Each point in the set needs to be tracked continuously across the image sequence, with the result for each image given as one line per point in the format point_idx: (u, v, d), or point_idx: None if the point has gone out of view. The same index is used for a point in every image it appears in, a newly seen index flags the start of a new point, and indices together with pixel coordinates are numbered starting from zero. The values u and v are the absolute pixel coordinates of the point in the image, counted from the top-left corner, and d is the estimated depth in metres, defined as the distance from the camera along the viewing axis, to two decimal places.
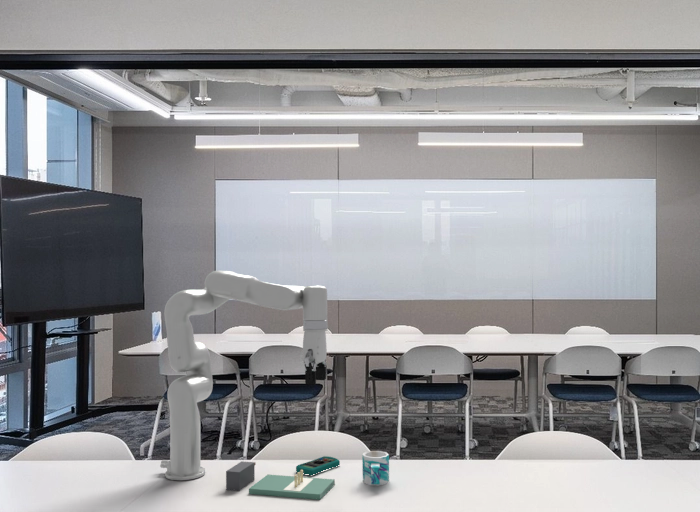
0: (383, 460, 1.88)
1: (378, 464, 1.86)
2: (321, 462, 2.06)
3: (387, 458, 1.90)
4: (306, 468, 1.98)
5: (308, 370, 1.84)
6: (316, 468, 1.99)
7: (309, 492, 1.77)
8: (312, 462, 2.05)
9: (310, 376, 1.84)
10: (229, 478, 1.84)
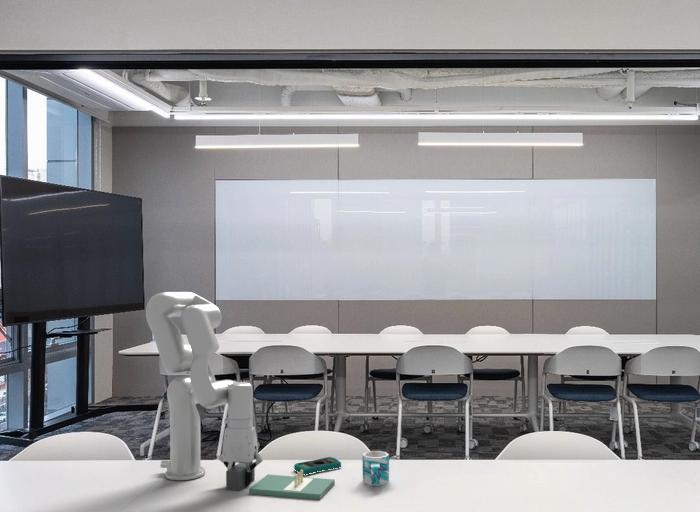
0: (383, 460, 1.88)
1: (378, 464, 1.86)
2: (321, 462, 2.05)
3: (387, 458, 1.90)
4: (301, 467, 1.99)
5: (251, 470, 1.88)
6: (311, 468, 1.99)
7: (309, 492, 1.77)
8: (312, 462, 2.05)
9: (251, 475, 1.89)
10: (229, 478, 1.84)
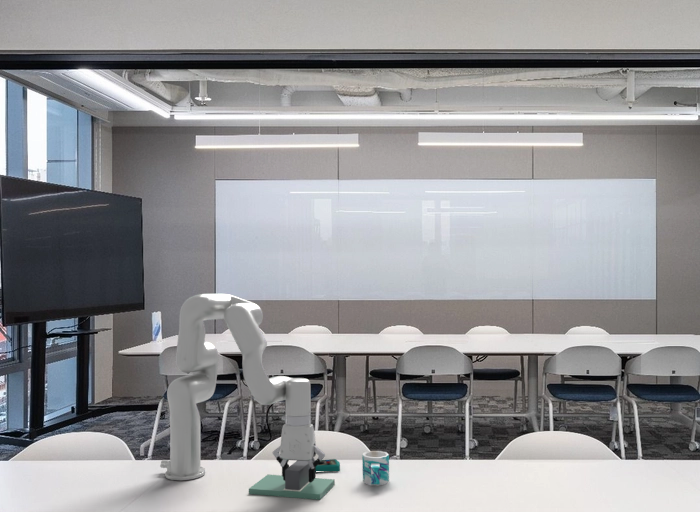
0: (383, 460, 1.88)
1: (378, 464, 1.86)
2: (321, 463, 2.04)
3: (387, 458, 1.90)
4: None
5: (315, 467, 1.83)
6: None
7: (309, 492, 1.77)
8: None
9: (315, 472, 1.83)
10: (288, 477, 1.79)
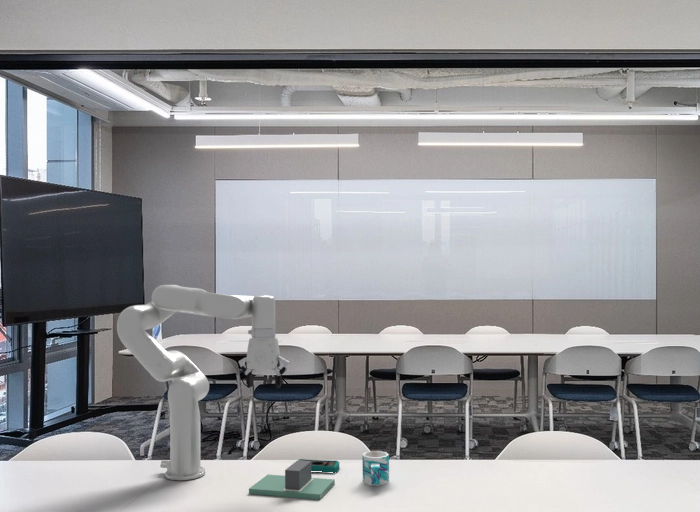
0: (383, 460, 1.88)
1: (378, 464, 1.86)
2: None
3: (387, 458, 1.90)
4: None
5: (281, 374, 1.96)
6: None
7: (309, 492, 1.77)
8: (315, 461, 2.06)
9: (281, 379, 1.97)
10: (288, 477, 1.79)
